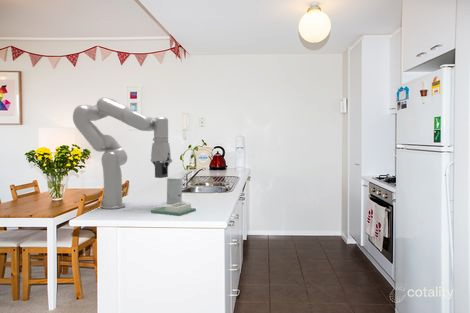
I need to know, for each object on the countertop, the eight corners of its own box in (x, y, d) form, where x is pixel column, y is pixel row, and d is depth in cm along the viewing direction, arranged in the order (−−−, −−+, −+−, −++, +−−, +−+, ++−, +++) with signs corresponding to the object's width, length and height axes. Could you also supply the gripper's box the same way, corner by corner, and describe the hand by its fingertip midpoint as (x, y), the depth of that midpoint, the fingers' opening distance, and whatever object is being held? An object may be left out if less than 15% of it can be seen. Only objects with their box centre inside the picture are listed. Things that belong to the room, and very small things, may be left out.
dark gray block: (154, 177, 203) (154, 162, 202) (162, 176, 209) (162, 161, 208) (160, 178, 201) (160, 163, 200) (168, 176, 207) (168, 162, 206)
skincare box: (166, 204, 217) (166, 178, 216) (168, 202, 223) (167, 177, 222) (181, 203, 217) (180, 178, 216) (182, 201, 223) (182, 176, 222)
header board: (150, 212, 192) (150, 205, 192) (168, 207, 205) (167, 201, 204) (179, 215, 184) (179, 208, 184) (195, 210, 196) (195, 203, 196)
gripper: (144, 140, 204) (144, 174, 205) (169, 140, 196) (169, 175, 197) (153, 140, 210) (153, 172, 211) (177, 140, 203) (178, 174, 204)
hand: (161, 173), depth 204 cm, fingers closed on dark gray block, 4 cm apart
